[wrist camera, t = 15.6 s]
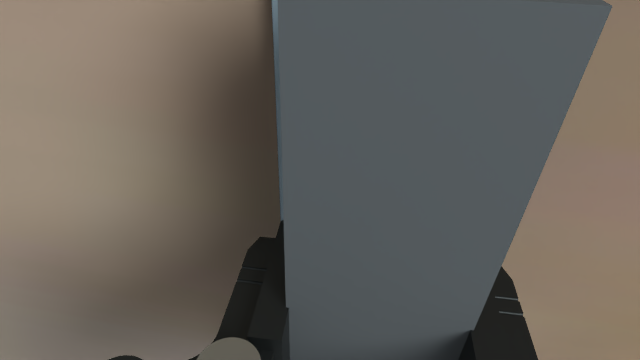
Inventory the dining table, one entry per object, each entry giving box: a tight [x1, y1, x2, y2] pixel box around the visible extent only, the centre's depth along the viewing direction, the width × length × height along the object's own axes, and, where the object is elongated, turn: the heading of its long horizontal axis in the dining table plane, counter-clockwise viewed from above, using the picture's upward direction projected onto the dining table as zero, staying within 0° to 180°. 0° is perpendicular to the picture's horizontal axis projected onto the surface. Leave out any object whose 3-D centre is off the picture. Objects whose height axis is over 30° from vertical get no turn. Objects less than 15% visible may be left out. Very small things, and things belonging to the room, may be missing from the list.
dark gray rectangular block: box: [278, 0, 612, 360], centre depth 10 cm, size 14×4×3 cm, turn 178°
